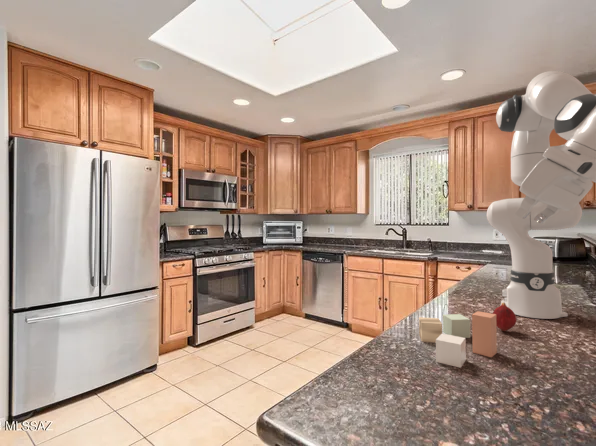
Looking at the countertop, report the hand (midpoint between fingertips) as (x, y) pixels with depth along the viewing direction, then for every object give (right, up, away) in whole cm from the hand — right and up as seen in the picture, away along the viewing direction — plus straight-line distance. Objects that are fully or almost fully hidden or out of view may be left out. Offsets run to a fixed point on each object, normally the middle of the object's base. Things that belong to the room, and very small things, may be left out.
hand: (528, 219), depth 70 cm
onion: (+8, -32, +20) cm, 38 cm away
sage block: (-7, -32, +18) cm, 37 cm away
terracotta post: (-6, -31, +6) cm, 33 cm away
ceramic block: (-16, -32, +1) cm, 36 cm away
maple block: (-15, -32, +15) cm, 38 cm away
